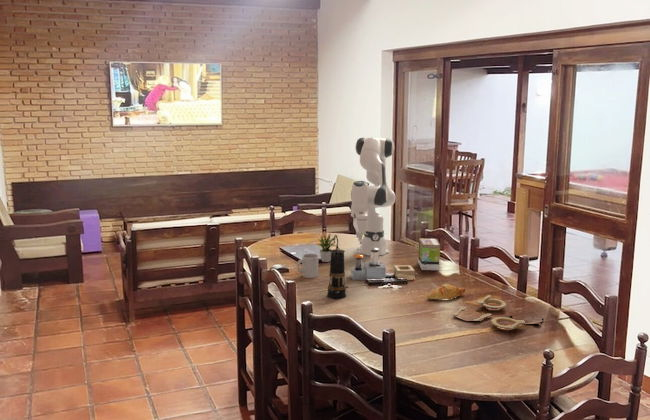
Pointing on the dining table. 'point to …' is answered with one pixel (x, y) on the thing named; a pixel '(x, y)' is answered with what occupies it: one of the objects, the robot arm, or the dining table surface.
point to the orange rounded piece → (358, 261)
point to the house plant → (325, 248)
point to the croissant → (446, 292)
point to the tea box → (429, 254)
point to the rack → (404, 272)
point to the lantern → (337, 274)
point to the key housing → (358, 274)
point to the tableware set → (494, 320)
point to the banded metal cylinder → (374, 256)
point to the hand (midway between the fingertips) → (359, 238)
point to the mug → (309, 266)
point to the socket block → (374, 270)
